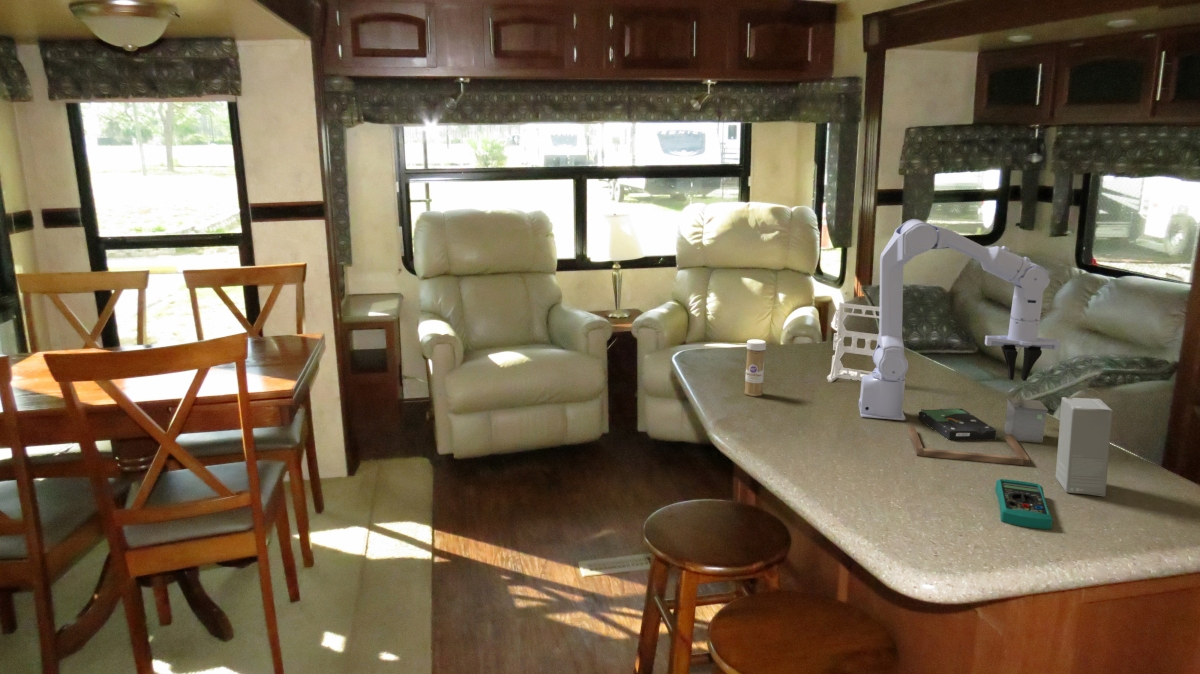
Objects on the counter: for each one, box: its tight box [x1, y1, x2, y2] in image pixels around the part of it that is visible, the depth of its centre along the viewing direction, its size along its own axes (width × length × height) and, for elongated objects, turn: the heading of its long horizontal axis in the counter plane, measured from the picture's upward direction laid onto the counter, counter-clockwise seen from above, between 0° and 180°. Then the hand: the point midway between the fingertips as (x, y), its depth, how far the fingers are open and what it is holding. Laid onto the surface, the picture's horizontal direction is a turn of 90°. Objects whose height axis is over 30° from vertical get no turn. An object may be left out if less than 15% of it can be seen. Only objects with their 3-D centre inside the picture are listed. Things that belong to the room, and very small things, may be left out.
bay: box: [907, 425, 1031, 467], centre depth 166 cm, size 20×15×1 cm
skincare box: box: [1054, 396, 1114, 497], centre depth 146 cm, size 8×7×16 cm
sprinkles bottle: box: [743, 338, 767, 397], centre depth 200 cm, size 5×5×14 cm
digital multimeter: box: [994, 478, 1053, 530], centre depth 138 cm, size 7×15×3 cm, turn 159°
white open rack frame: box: [826, 302, 879, 383], centre depth 213 cm, size 14×14×20 cm
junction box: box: [1004, 397, 1049, 444], centre depth 172 cm, size 6×6×7 cm
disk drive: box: [918, 408, 997, 441], centre depth 178 cm, size 10×3×15 cm
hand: (1017, 379), depth 180 cm, fingers open, 2 cm apart
